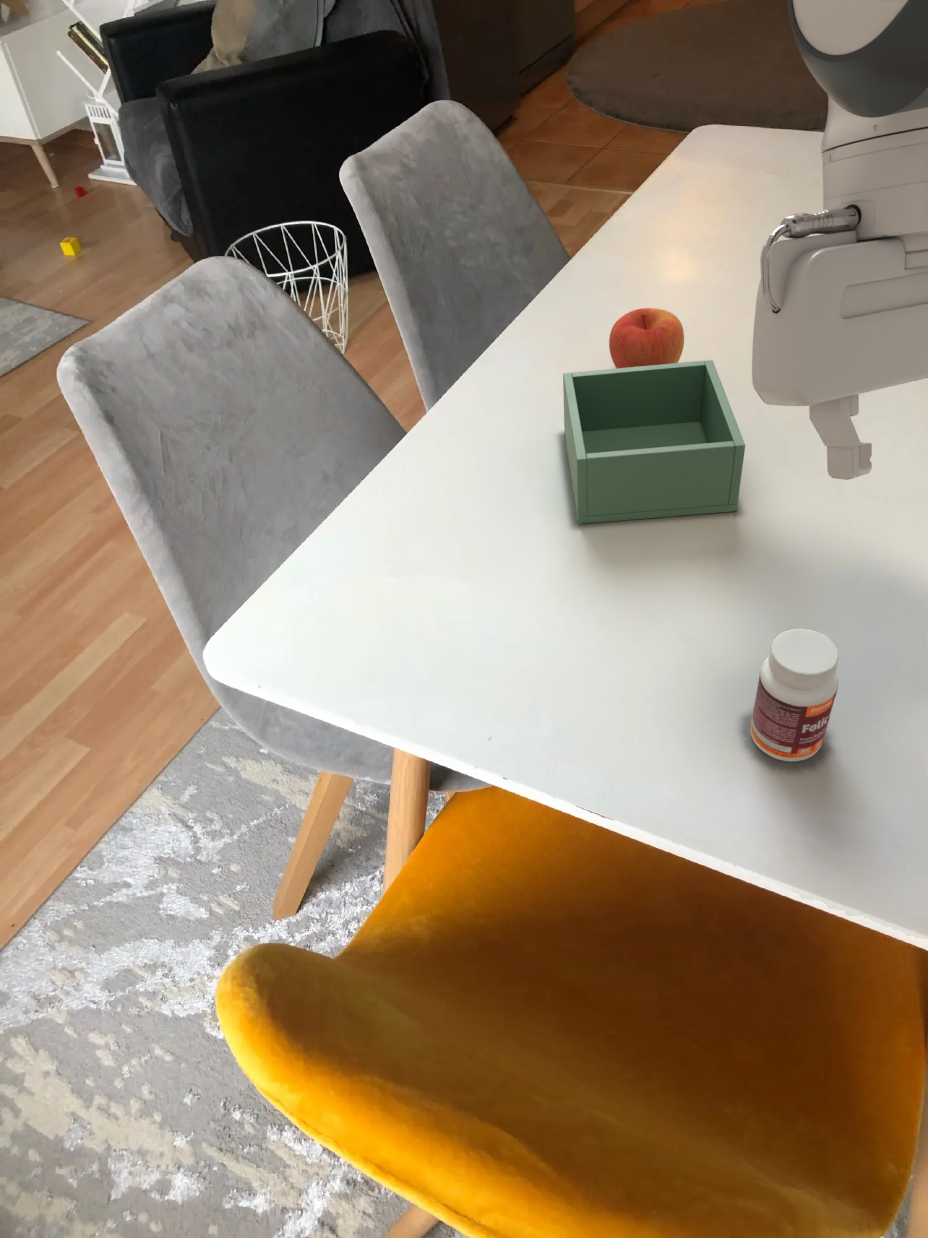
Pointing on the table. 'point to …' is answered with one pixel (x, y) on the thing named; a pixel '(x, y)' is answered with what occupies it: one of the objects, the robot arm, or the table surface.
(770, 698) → the pill bottle
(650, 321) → the apple
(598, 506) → the bin
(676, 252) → the table surface
